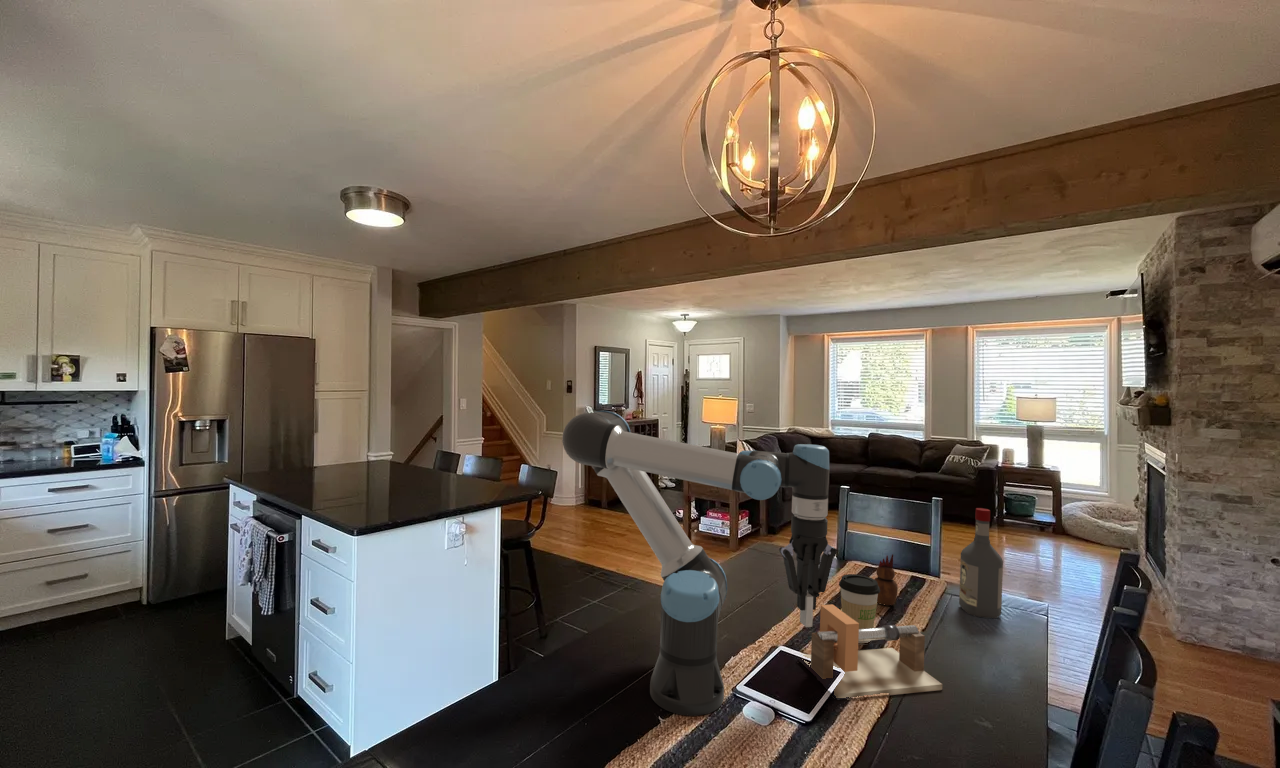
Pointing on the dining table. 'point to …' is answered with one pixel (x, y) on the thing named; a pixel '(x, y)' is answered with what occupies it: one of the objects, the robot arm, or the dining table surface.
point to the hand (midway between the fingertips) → (806, 624)
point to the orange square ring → (841, 636)
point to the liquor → (981, 573)
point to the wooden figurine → (886, 582)
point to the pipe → (875, 633)
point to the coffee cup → (859, 599)
